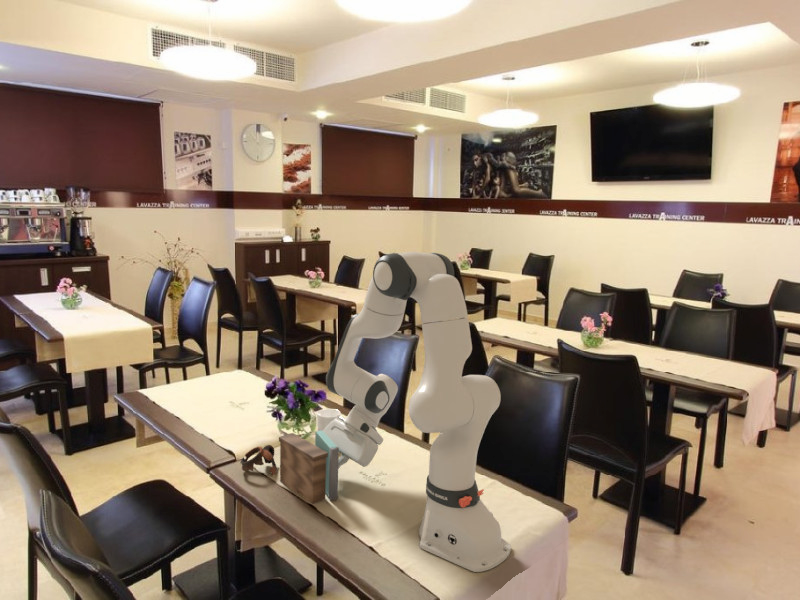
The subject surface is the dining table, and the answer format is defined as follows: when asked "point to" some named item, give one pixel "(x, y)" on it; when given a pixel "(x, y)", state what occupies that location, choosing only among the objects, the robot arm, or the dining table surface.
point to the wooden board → (303, 467)
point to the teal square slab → (329, 463)
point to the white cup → (326, 417)
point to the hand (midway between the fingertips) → (331, 466)
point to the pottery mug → (259, 458)
